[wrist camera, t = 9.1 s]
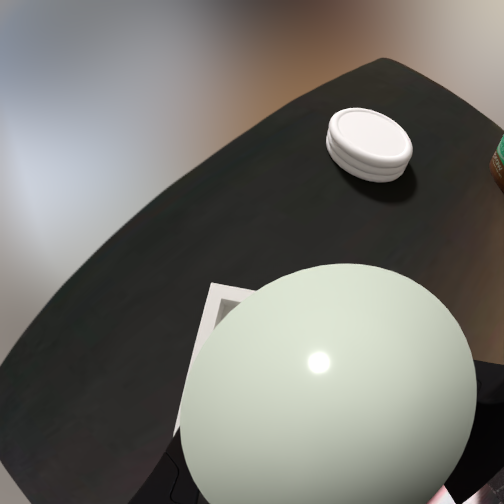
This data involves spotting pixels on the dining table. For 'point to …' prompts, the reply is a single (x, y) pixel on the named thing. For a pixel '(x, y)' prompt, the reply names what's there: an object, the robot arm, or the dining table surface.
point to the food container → (498, 165)
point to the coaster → (368, 144)
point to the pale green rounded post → (330, 393)
